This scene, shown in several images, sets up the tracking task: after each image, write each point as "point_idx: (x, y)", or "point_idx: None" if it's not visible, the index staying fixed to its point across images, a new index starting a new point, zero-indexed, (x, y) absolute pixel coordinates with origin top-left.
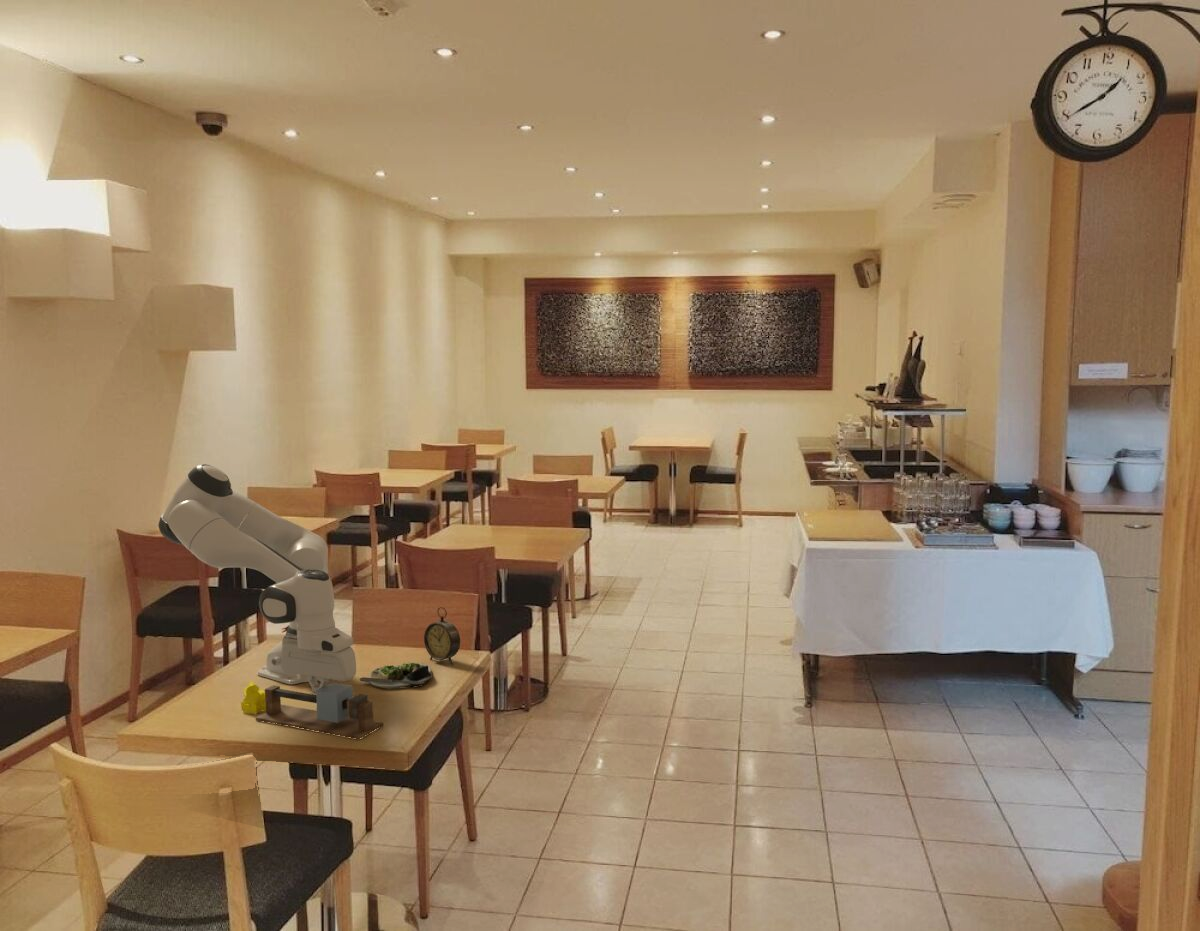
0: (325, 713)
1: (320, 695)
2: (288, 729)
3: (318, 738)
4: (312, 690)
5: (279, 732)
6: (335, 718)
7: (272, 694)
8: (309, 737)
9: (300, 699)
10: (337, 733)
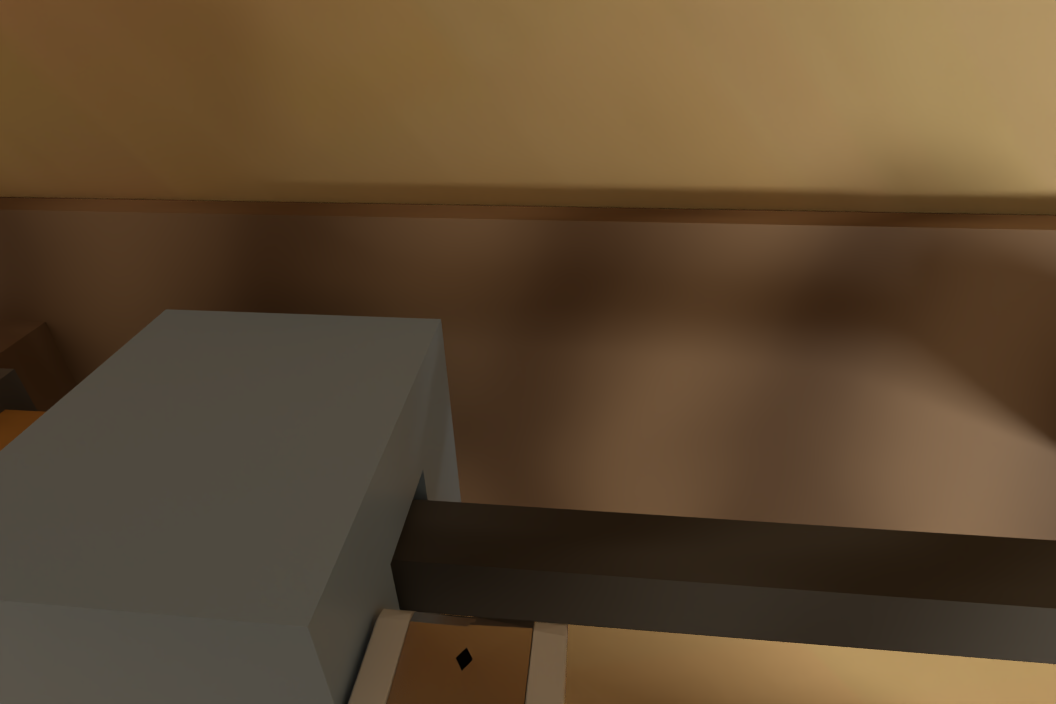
0: (289, 362)
1: (240, 550)
2: (766, 152)
3: (273, 74)
4: (545, 662)
5: (830, 32)
6: (164, 332)
7: None
8: (380, 56)
9: (802, 535)
10: (149, 209)
